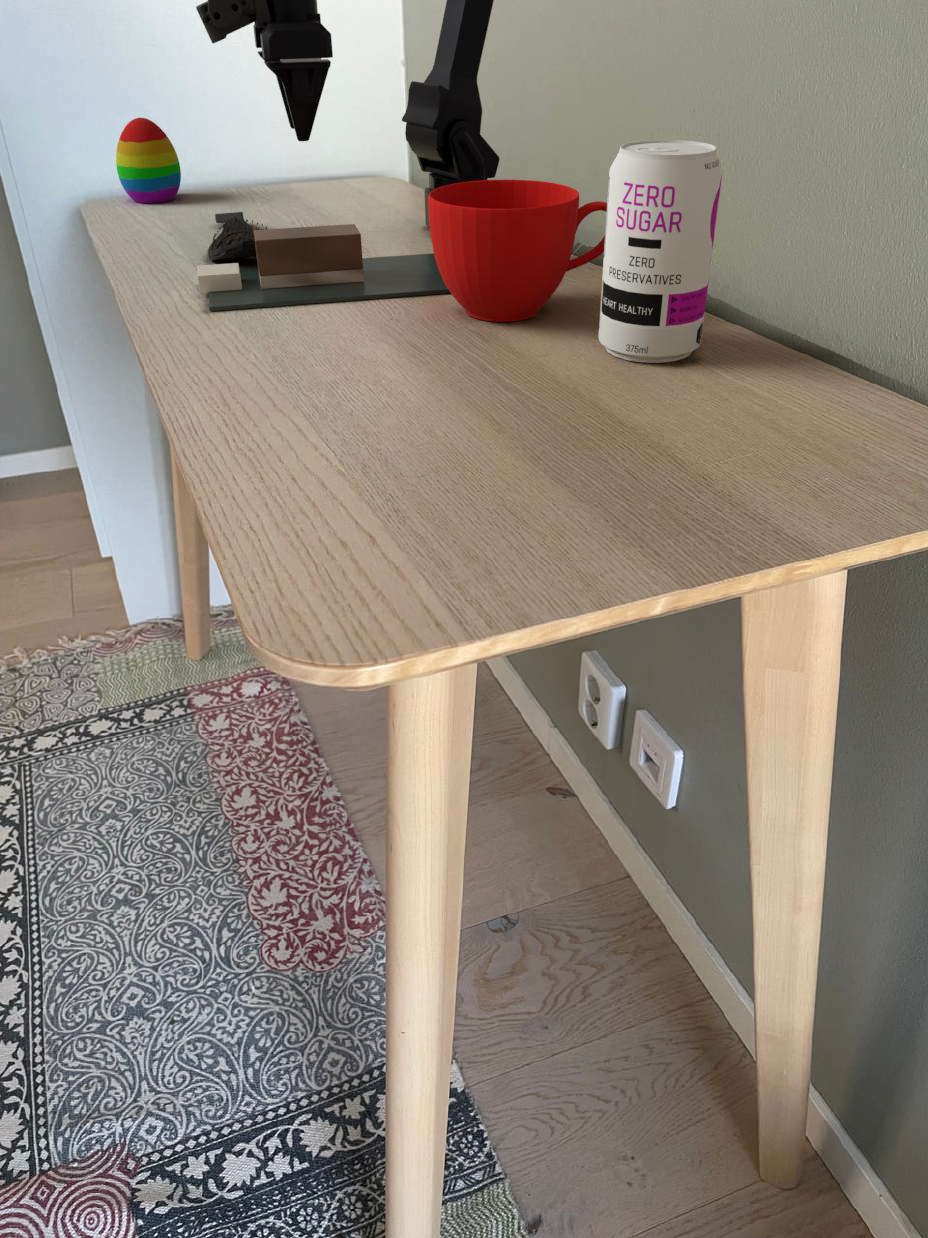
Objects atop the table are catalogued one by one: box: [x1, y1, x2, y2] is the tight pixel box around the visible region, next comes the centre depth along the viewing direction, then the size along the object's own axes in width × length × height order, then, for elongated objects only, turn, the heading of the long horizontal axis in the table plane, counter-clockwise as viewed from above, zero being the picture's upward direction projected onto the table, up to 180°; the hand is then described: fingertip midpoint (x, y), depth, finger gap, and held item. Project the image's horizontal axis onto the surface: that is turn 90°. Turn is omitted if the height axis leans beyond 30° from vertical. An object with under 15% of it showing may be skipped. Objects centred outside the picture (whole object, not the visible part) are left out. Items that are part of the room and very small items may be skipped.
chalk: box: [196, 262, 242, 294], centre depth 95 cm, size 4×4×2 cm
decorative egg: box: [115, 117, 182, 204], centre depth 130 cm, size 8×8×10 cm
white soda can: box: [597, 139, 724, 364], centre depth 75 cm, size 8×8×15 cm
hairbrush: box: [207, 211, 268, 261], centre depth 110 cm, size 8×4×25 cm
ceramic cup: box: [428, 179, 607, 323], centre depth 86 cm, size 13×17×10 cm
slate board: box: [208, 252, 451, 312], centre depth 97 cm, size 24×14×1 cm, turn 103°
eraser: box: [253, 223, 364, 289], centre depth 96 cm, size 10×4×4 cm, turn 103°
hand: (299, 134), depth 99 cm, fingers open, 9 cm apart
